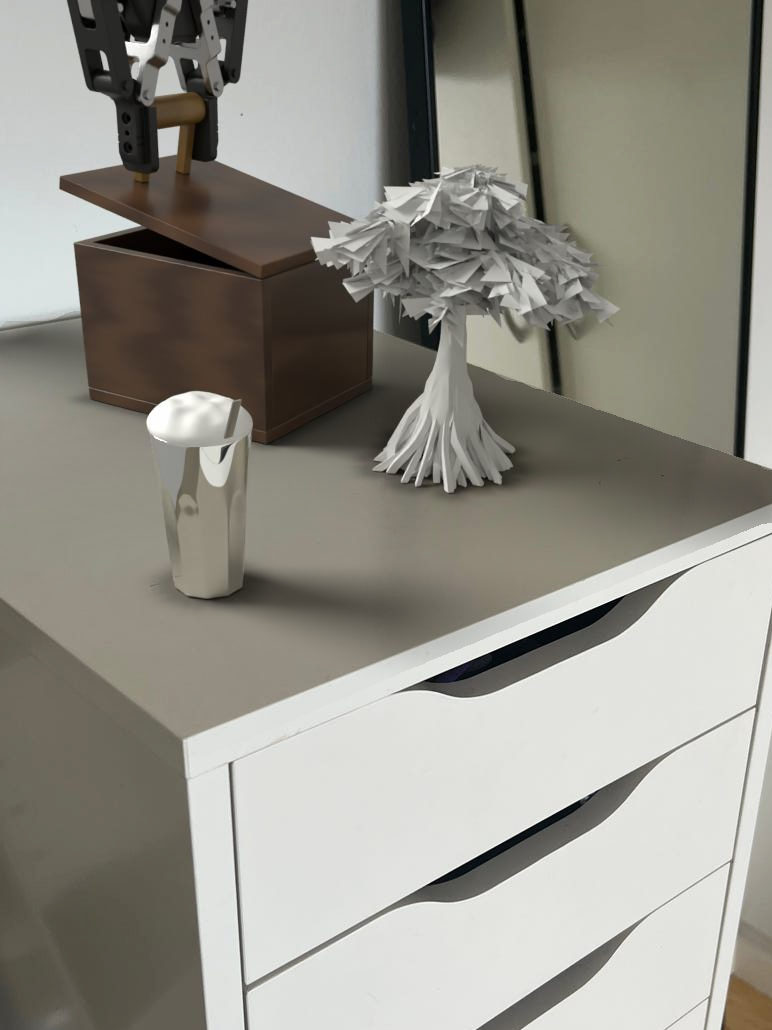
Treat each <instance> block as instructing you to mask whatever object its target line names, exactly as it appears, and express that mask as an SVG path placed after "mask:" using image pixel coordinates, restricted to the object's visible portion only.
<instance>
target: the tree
mask: <svg viewBox="0 0 772 1030" xmlns="http://www.w3.org/2000/svg"><path fill="white" fill-rule="evenodd" d="M498 169H499V166H496V167H495V168H493V167H492V166H491V167H490V166H489V167H487V166H486V165H483V164H482V163H480V164H479V163H477V164H472V165H471V164H469V165H468V166H462V167H459V166H458V167H454V168H451V167H447V166H442V167H441V171H438V172H434V174H435V175H440V176H439V177H437V178H431V179H427V178H422V181H414V183H413V182H408V184H409V185H410V186H383V189H384V190H385V192H384V196H385V198H386V201H382V203H380V202H378V201H376V200H374V201H373V202H374V203H373V210H372V211H371V212H369V214H363V215H361V218H363V219H364V220H358V219H356V220H354V222H351V224H348V223H345V222H342V221H341V223H337V222H330V221H328V223H329V226H330V229H331V230H329V233H330V238H331V239H327V238H317V237H311V239H312V241H311V240H310V241H311V244H312V246H313V248H314V250H315V253H316V255H317V259H319V262H320V264H321V265H323V264H326V263H327V267H329V266H331V265H335V267H336V268H337V270H338V269H339V268H340V267H342V266H343V265H344V264H346V263H347V270H348V269H349V268H350V273H351V271H352V277H351V278H347V279H343V285H344V286H345V288H346V289H347V290H348V292H349V293H350V294H351V296H352V297H353V299H354V300H355V302H358V301H359V300H361V299H362V298H363V297H365V296H366V295H367V294H369V293H370V292H371V291H373V290H374V291H375V290H377V289H379V290H380V292H381V293H383V295H382V296H383V297H382V298H383V299H384V298H385V300H387V299H388V294H389V295H390V299H391V302H392V305H393V306H395V296H396V297H398V296H399V318H398V319H399V320H398V324H400V323H401V322H400V321H401V318H403V317H405V316H409V317H410V318H414V320H415V321H418V320H419V319H420V318H421V317H424V315H425V314H427V313H428V314H430V315H431V318H429V319H428V320H427V321H428V332H429V333H428V335H431V333H432V332H433V331H434V330H435V328H436V327H437V326H438V323H440V321H441V323H440V324H441V326H440V338H439V339H440V340H439V344H438V349H437V353H436V358H435V362H434V365H433V368H432V370H431V372H430V374H429V375H428V378H427V379H426V382H425V385H424V390H423V393H421V394H420V395H419V396H418V397H417V398H416V399H415V400H414V402H412V404H411V405H410V406H409V407H408V408H407V409H406V411H405V413H404V414H403V416H402V418H401V420H400V421H399V423H398V425H397V427H395V429H394V432H393V433H392V435H391V437H390V438H389V440H388V442H387V444H386V446H385V447H384V448H382V450H383V451H381V452H380V453H379V454H378V455H377V456H376V457H374V458H373V461H375V462H379V464H377V465H375V466H374V467H373V468H372V469H371V471H374V472H384V471H385V472H386V473H385V474H396V473H397V472H398V471H399V469H401V470H402V471H404V474H403V476H402V477H401V479H400V484H408V483H409V481H410V479H411V478H412V477H416V479H415V481H414V486H415V488H418V487H420V486H422V483H423V479H424V477H425V478H427V477H429V476H431V475H432V482H433V484H440V483H441V480H442V481H443V489H444V491H445V492H446V493H447V494H450V493H454V492H455V490H456V489H457V485H459V486H462V487H464V488H466V487H468V484H467V479H469V480H470V482H471V484H472V485H473V486H477V487H483V486H484V485H485V483H484V480H483V478H484V479H485V478H487V480H489V481H493V483H494V484H498V485H502V483H503V481H502V479H503V476H502V475H501V473H500V472H505V471H507V470H508V471H509V470H511V468H514V465H513V463H512V461H511V460H510V459H509V457H508V456H507V455H506V454H514V453H515V452H516V449H515V447H514V446H513V445H512V444H510V443H509V442H508V441H506V440H505V439H503V438H502V436H500V435H498V434H496V432H495V431H494V430H493V429H492V427H491V426H490V425H489V424H488V423H487V421H486V420H485V419H484V417H483V413H482V410H481V408H480V405H479V403H478V402H477V400H476V398H475V396H474V389H473V383H472V381H471V377H470V376H469V373H468V366H467V365H468V364H467V360H468V359H467V357H468V353H467V351H468V350H467V349H468V348H467V347H468V332H467V330H468V329H467V316H482V318H483V319H485V316H491V317H492V318H493V320H494V322H496V324H497V325H498V326H499V327H500V329H503V328H502V321H501V315H503V316H505V314H504V312H506V313H507V308H508V309H509V311H510V314H511V318H513V317H514V316H513V315H514V310H515V311H516V312H517V316H520V317H521V316H522V318H523V319H524V320H525V322H526V323H527V325H528V326H529V327H530V328H531V329H532V328H534V327H536V326H537V327H539V329H545V330H548V331H549V332H550V331H551V329H550V328H549V326H548V324H549V323H550V324H551V325H553V323H554V320H556V321H558V322H560V323H559V325H558V328H560V327H563V326H564V325H565V326H566V325H567V324H569V323H571V322H578V323H581V320H580V319H582V318H583V317H585V316H587V315H588V314H589V313H592V314H594V315H595V316H596V319H597V320H598V322H599V324H602V323H604V322H606V323H608V325H610V326H611V327H613V328H614V327H615V326H614V325H613V324H612V322H611V321H610V319H608V318H610V317H612V316H614V315H615V313H616V312H618V311H619V310H621V308H620V307H619V306H617V305H615V304H614V303H612V302H610V301H609V300H608V299H606V298H604V297H603V296H601V295H600V294H598V293H596V292H595V291H593V290H591V289H592V287H593V286H594V285H595V284H596V285H598V286H602V287H603V285H602V284H600V283H598V282H596V281H597V280H598V278H599V277H600V274H599V273H596V272H595V270H594V268H599V267H604V266H606V264H601V263H602V261H593V262H592V261H590V260H591V259H590V258H591V257H592V256H593V255H594V254H595V253H592V252H589V253H587V252H588V249H586V248H581V247H578V246H577V245H578V243H576V242H577V240H574V241H571V242H569V241H566V240H567V238H568V237H569V236H570V235H571V233H570V232H562V231H564V230H566V229H568V228H570V226H568V225H557V224H550V223H545V222H543V221H542V220H539V219H536V218H532V217H531V216H526V217H525V216H524V214H525V212H526V211H527V210H528V209H527V208H526V207H524V205H522V202H523V201H524V202H526V203H529V201H528V200H527V195H528V193H527V192H528V186H529V184H527V183H524V182H522V181H519V180H515V179H513V178H510V177H507V175H508V172H507V173H497V170H498ZM357 220H358V221H357ZM317 259H316V260H317ZM366 264H367V267H365V265H366ZM364 267H365V268H364ZM363 269H364V270H365V272H364V273H362V271H363ZM591 270H592V271H593V272H591ZM358 272H359V275H358V276H355V275H356V274H357V273H358ZM361 273H362V274H361ZM353 276H355V277H353ZM369 278H370V279H369ZM407 294H409V295H407ZM402 307H404V311H403V313H402ZM559 315H560V316H562V317H560V316H559ZM422 455H423V456H422ZM420 459H421V460H420Z"/></svg>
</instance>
